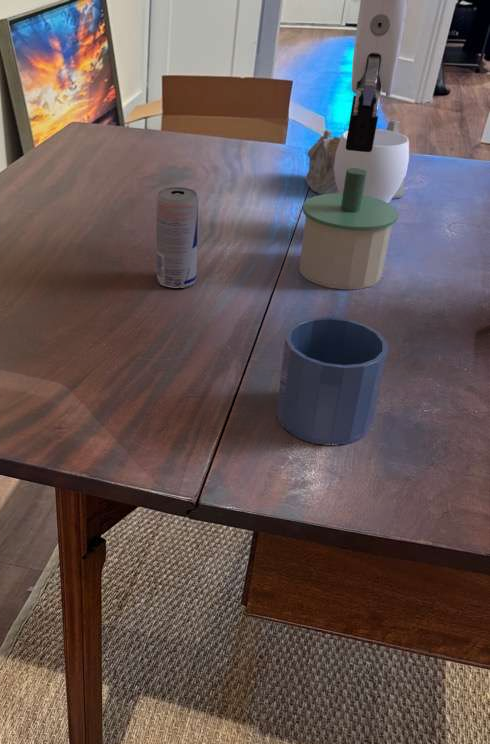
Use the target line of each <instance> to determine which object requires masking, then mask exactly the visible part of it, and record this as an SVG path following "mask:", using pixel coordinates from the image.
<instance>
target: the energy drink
mask: <svg viewBox="0 0 490 744" xmlns="http://www.w3.org/2000/svg"><path fill="white" fill-rule="evenodd" d="M155 199H156V202H155V203H156V210H155V211H156V278H157V279H158V280H157V279H156V280H157V282H158V281H159V282H161V283H162V284H164V285H167V286H171V287H179V288H181V287H187V286H190V287H192V286H193V285H194V284H195V283H196V282H197V264H198V263H197V262H198V261H197V260H198V259H197V258H198V229H199V228H198V225H199V223H198V222H199V199H198V195H197V192H196V191H195V190H194V189H192V188H189V187H183V186H170V187H164V188H161V189H159V190H158V191H157V197H156V198H155ZM159 282H158V283H159ZM192 284H193V285H192ZM191 285H192V286H191Z"/></svg>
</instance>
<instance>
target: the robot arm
mask: <svg viewBox="0 0 490 744" xmlns="http://www.w3.org/2000/svg"><path fill="white" fill-rule="evenodd" d="M408 2H409V0H360V2H359V10H358V15H357V24H356V30H355V38H354V45H353V56H352V66H351V68H352V69H351V87H350V89H351V92H352V93H353V94H355V95H353V98H352V104H351V109H350V116H349V123H348V129H347V130H348V135H347V141H346V149H347V150H350V151H361V152H371V151H372V147H373V142H374V137H375V131H376V128H377V125H378V121H379V120H378V119H379V116H378V110H379V108H378V107H379V103H380V97H381V93H385V97H386V98H387V97H390V96H391V95H392V94H393V91H394V84H395V80H396V73H397V68H398V62H399V58H400V52H401V47H402V42H403V36H404V30H405V25H406V18H407V10H408Z"/></svg>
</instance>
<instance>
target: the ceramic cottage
mask: <svg viewBox="0 0 490 744" xmlns="http://www.w3.org/2000/svg"><path fill="white" fill-rule="evenodd" d="M376 129H380V128H378V127H376ZM386 130H388V131H393V132H396V133H399V134H400V121H399V120H397V119H390V120H389V122H388V124H387V127H386ZM346 131H348V129H346ZM341 137H342V136H340V137H339V136H333V138H332V132H331V130H329V129H325V130H324V132H323V136H320V138H319V139H318V140H317V142H315V144H314V145H312V146H311V147H310V148H309V150H308V151H307V156H308V158H309V160H308V161H309V162H308V172H307V173H306V176H305V179H304V182H305V183H306V185H307V186H308V187H309V189H310V191H312V192H315V193H316V194H317V195H323V194H333V193H339V191H338V188H337V185H336V181H335V173H334V162H335V155H336V150H337V148H338V145H339V142H340V139H341ZM404 196H405V181H404V180H403V181H402V183H401V185H400V187H399V189H398V190H397V192H396V193H395V194H394V196H393V197H392V199H391V200H390V201H392V200H396V199H399V198H403V197H404Z"/></svg>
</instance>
